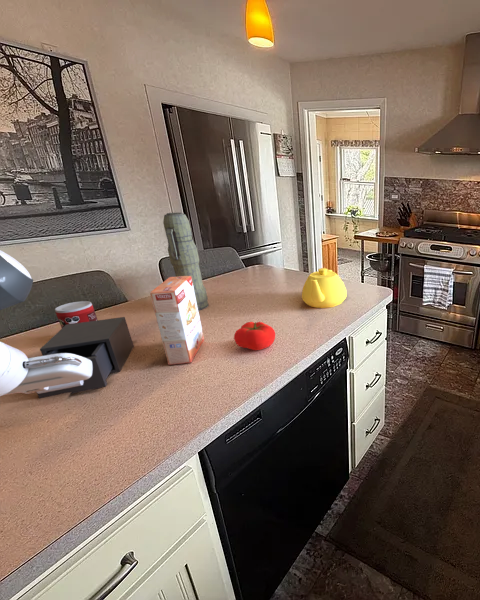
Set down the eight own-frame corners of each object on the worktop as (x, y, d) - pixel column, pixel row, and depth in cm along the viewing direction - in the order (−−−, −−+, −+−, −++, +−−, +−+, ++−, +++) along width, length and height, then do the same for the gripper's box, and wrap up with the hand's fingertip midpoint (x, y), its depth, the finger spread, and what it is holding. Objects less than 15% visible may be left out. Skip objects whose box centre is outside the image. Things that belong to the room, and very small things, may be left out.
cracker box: (193, 363, 88) (175, 290, 80) (167, 366, 86) (147, 292, 79) (206, 339, 100) (191, 274, 93) (184, 342, 99) (167, 276, 91)
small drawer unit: (120, 371, 84) (108, 338, 80) (54, 384, 78) (39, 349, 75) (134, 346, 96) (124, 316, 92) (78, 355, 91) (66, 324, 87)
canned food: (62, 342, 97) (48, 308, 94) (93, 331, 104) (82, 299, 100) (76, 347, 95) (63, 312, 91) (108, 335, 102) (97, 303, 98)
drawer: (99, 397, 73) (88, 367, 70) (30, 412, 68) (14, 380, 65) (121, 359, 87) (113, 333, 85) (65, 369, 83) (54, 342, 80)
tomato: (259, 356, 91) (256, 336, 89) (229, 349, 95) (226, 329, 93) (282, 341, 100) (280, 322, 98) (254, 335, 103) (251, 316, 101)
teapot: (338, 315, 119) (336, 280, 114) (291, 313, 120) (287, 278, 115) (352, 292, 142) (350, 262, 137) (312, 291, 143) (309, 261, 138)
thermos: (213, 300, 131) (195, 211, 118) (202, 312, 120) (181, 215, 107) (189, 302, 129) (168, 211, 117) (176, 313, 118) (151, 215, 106)
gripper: (72, 338, 56) (107, 360, 68) (-110, 365, 48) (-35, 385, 60) (70, 374, 54) (107, 390, 66) (-121, 408, 46) (-40, 420, 57)
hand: (38, 387), depth 63 cm, fingers closed
